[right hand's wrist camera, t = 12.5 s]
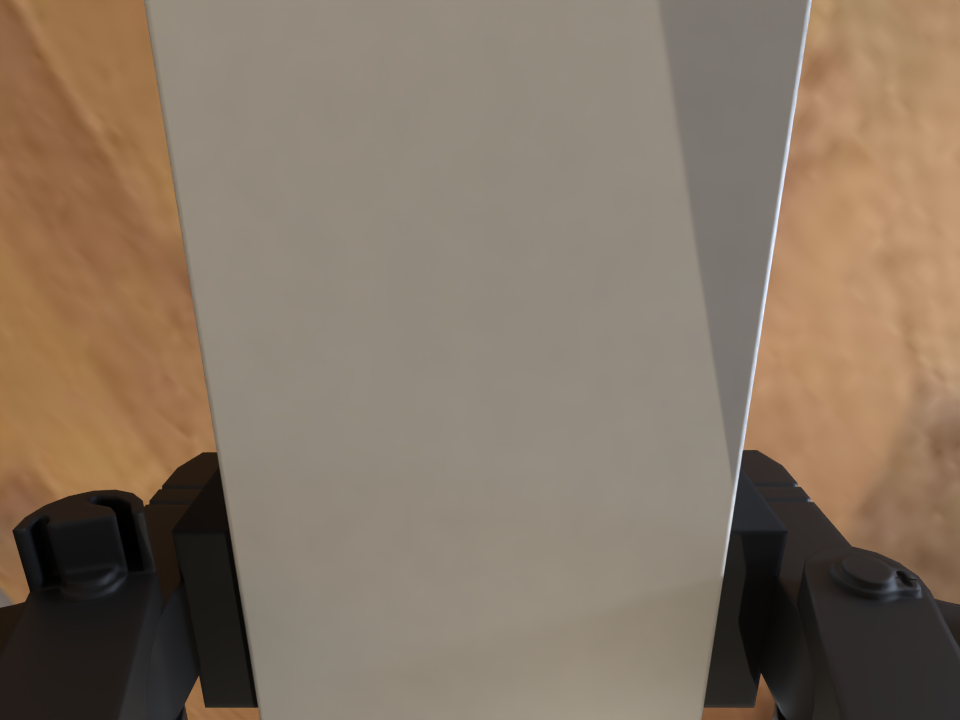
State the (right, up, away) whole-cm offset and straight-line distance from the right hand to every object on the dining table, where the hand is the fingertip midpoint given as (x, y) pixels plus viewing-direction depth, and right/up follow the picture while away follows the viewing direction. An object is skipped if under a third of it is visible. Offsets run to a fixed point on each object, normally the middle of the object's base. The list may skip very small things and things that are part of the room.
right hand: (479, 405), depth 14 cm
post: (0, +27, -10) cm, 29 cm away
